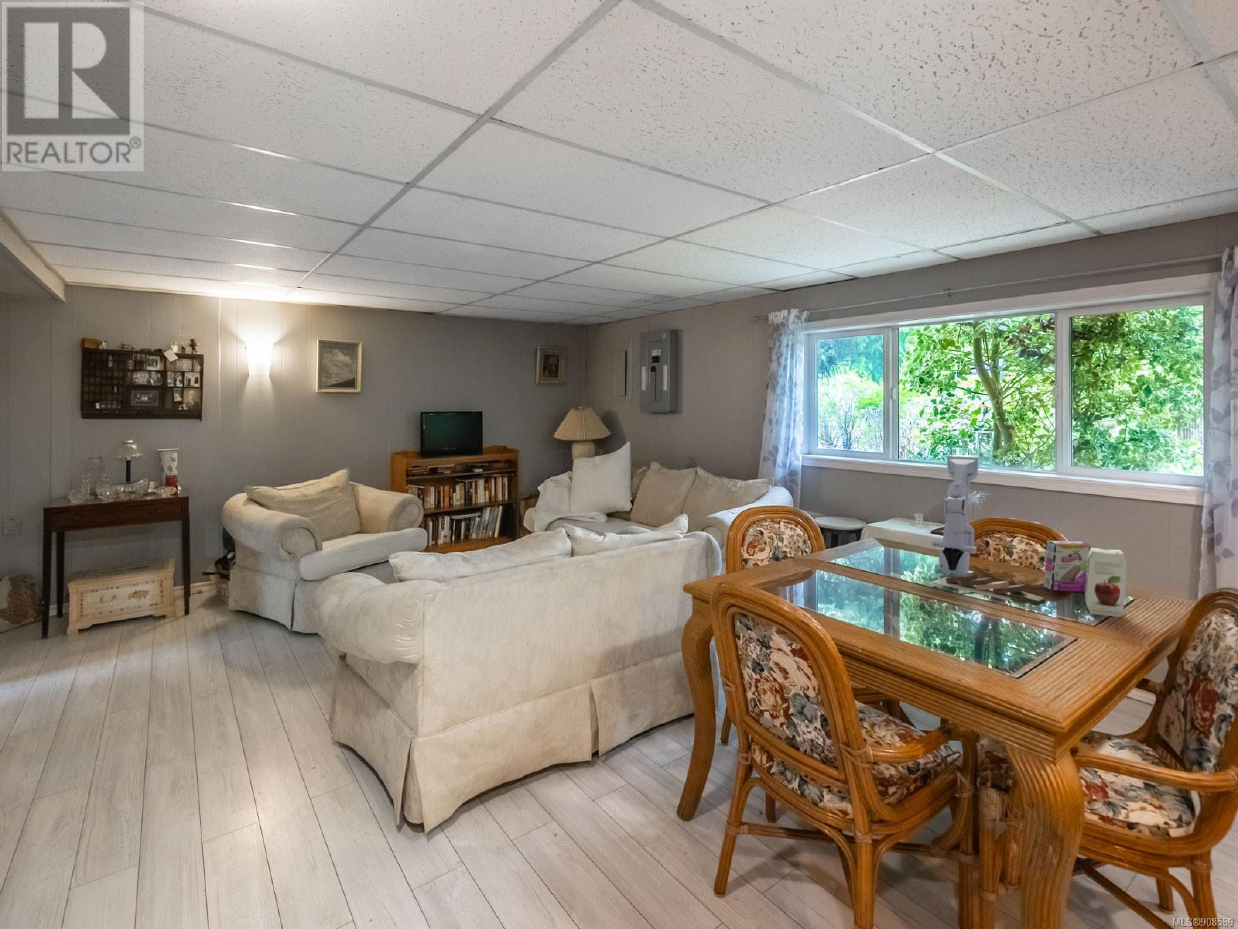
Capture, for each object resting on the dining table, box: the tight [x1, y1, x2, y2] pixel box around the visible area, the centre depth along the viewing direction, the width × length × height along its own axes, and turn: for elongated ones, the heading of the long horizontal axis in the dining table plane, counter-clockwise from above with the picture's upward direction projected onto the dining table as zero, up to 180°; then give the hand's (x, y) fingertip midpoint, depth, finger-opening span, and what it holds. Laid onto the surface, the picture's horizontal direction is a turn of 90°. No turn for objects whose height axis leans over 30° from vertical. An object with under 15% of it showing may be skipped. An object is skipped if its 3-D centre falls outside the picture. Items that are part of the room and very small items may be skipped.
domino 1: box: [946, 573, 978, 583], centre depth 207 cm, size 2×5×8 cm
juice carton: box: [1084, 547, 1127, 618], centre depth 178 cm, size 8×9×19 cm
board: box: [931, 576, 1014, 601], centre depth 203 cm, size 25×11×1 cm, turn 33°
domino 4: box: [993, 583, 1028, 594], centre depth 194 cm, size 2×5×8 cm
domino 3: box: [976, 580, 1011, 590], centre depth 199 cm, size 2×5×8 cm
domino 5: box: [1009, 591, 1046, 605], centre depth 190 cm, size 2×5×8 cm
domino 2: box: [960, 576, 994, 586], centre depth 203 cm, size 2×5×8 cm
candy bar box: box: [1043, 540, 1091, 593], centre depth 201 cm, size 11×5×16 cm, turn 84°
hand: (952, 569), depth 210 cm, fingers closed
